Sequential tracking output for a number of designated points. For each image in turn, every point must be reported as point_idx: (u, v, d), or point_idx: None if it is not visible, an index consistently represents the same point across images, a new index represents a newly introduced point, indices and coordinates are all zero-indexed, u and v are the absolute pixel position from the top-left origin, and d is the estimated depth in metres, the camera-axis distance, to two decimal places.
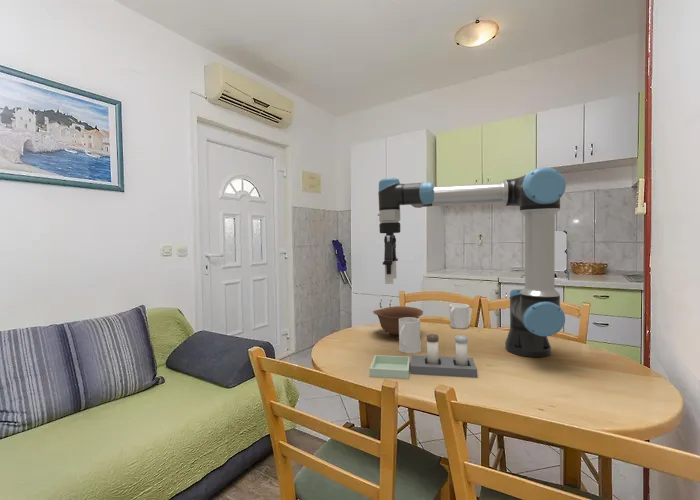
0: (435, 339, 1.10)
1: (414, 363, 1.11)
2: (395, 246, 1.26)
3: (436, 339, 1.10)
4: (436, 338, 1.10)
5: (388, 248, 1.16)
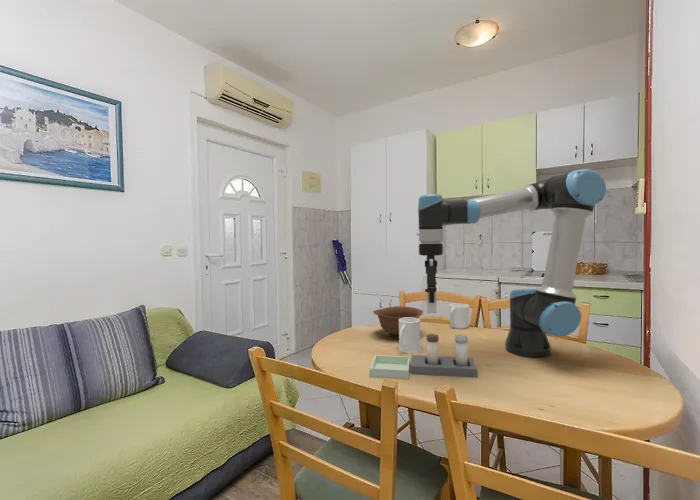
0: (435, 339, 1.10)
1: (414, 363, 1.11)
2: None
3: (436, 339, 1.10)
4: (436, 338, 1.10)
5: (431, 273, 1.03)
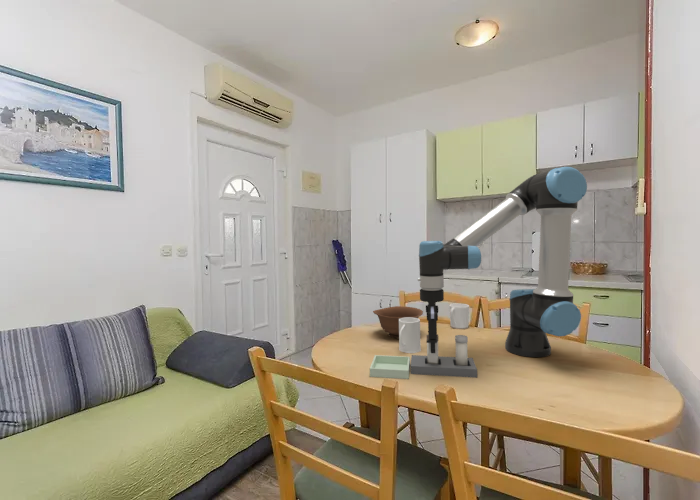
0: None
1: (414, 363, 1.11)
2: None
3: None
4: None
5: (432, 326, 1.06)
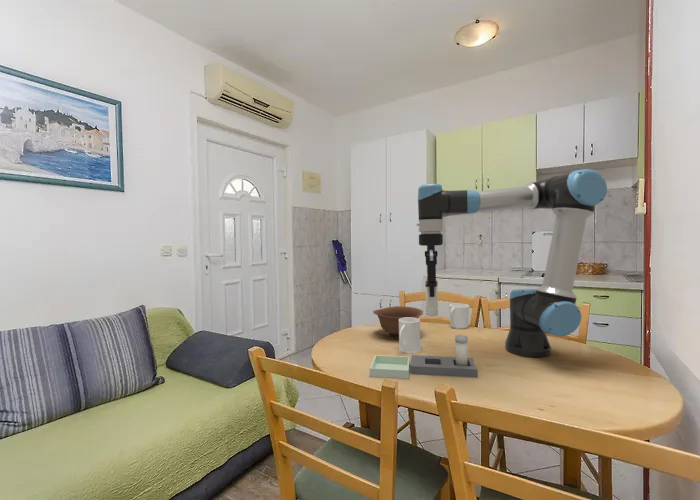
0: None
1: (414, 363, 1.11)
2: None
3: None
4: None
5: (431, 269, 1.05)
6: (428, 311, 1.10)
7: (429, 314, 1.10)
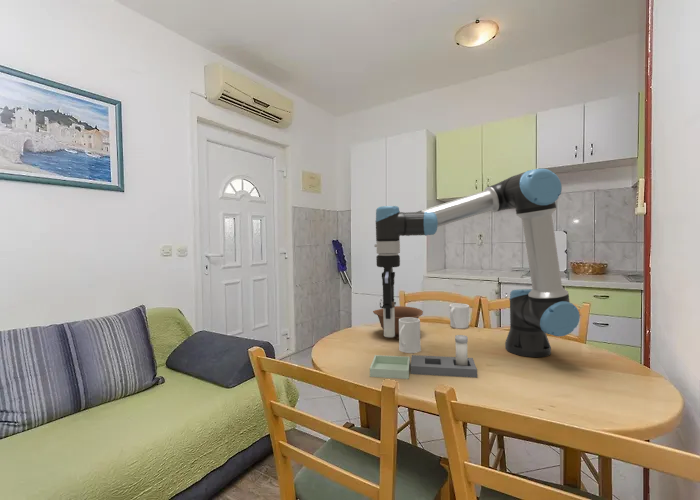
0: None
1: (414, 363, 1.11)
2: None
3: (392, 305, 1.10)
4: (392, 304, 1.10)
5: (387, 291, 1.05)
6: (385, 332, 1.11)
7: (386, 335, 1.10)
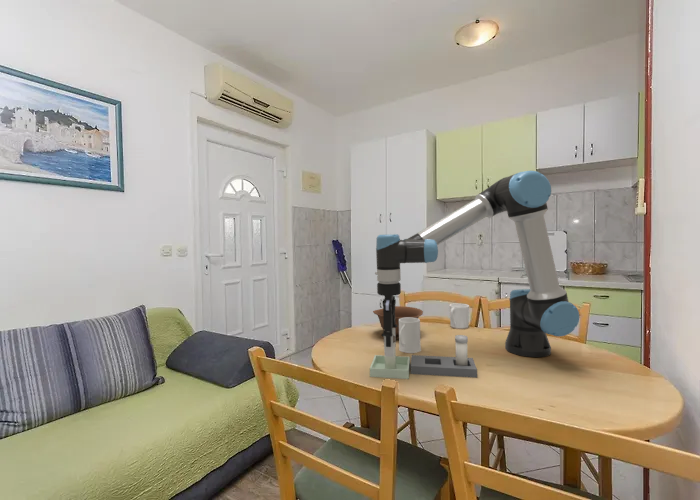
0: None
1: (414, 363, 1.11)
2: (394, 308, 1.13)
3: None
4: None
5: (387, 318, 1.05)
6: (386, 367, 1.11)
7: None
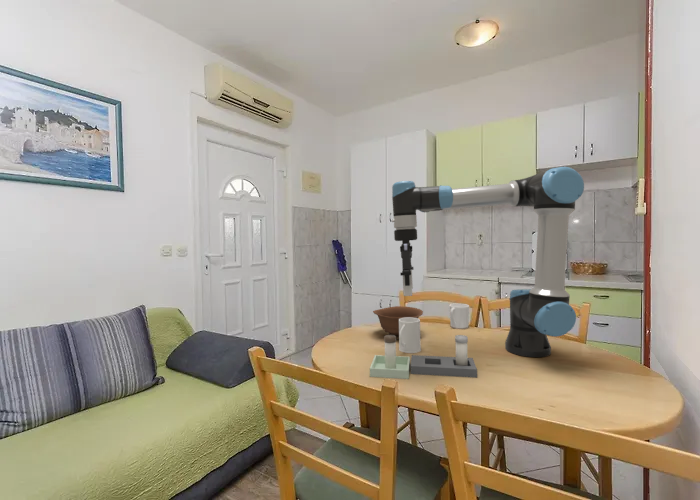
0: (392, 340, 1.10)
1: (414, 363, 1.11)
2: None
3: (393, 340, 1.10)
4: (393, 339, 1.10)
5: (406, 257, 1.07)
6: (386, 367, 1.11)
7: None
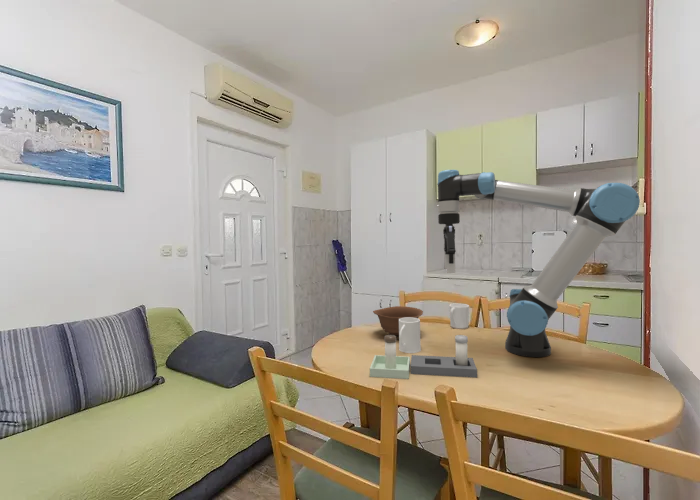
0: (392, 340, 1.10)
1: (414, 363, 1.11)
2: None
3: (393, 340, 1.10)
4: (393, 339, 1.10)
5: (451, 238, 1.19)
6: (386, 367, 1.11)
7: None
